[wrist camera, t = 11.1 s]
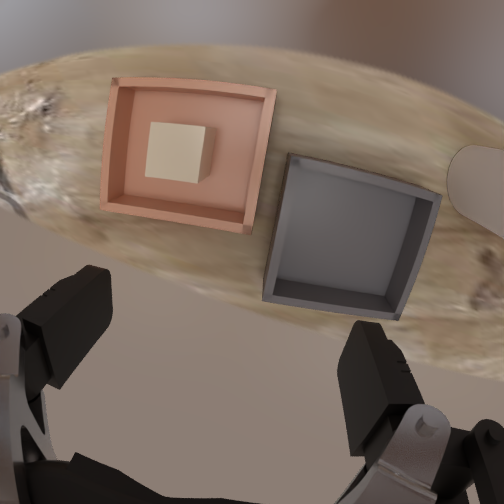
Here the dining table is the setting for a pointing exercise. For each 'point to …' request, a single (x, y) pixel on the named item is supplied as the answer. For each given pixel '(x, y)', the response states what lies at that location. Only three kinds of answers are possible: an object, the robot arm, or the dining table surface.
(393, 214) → the bin
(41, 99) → the dining table surface
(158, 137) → the block
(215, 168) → the bin
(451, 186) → the cup
